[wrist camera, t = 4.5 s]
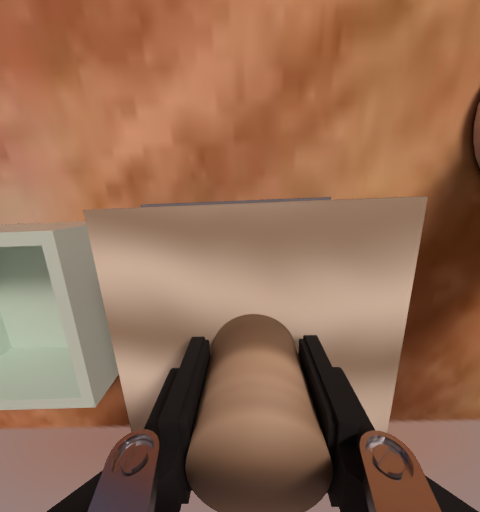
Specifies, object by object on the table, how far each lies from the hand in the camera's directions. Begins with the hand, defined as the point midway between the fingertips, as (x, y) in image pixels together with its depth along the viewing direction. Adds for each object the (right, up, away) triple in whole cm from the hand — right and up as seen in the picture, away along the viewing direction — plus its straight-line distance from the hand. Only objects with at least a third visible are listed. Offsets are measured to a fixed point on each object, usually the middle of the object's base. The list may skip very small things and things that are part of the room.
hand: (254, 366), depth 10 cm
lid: (0, 0, +2) cm, 2 cm away
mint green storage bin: (-17, +2, +10) cm, 20 cm away
